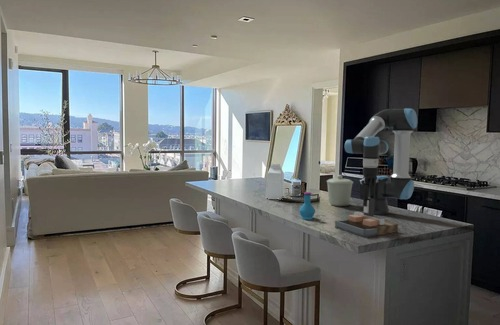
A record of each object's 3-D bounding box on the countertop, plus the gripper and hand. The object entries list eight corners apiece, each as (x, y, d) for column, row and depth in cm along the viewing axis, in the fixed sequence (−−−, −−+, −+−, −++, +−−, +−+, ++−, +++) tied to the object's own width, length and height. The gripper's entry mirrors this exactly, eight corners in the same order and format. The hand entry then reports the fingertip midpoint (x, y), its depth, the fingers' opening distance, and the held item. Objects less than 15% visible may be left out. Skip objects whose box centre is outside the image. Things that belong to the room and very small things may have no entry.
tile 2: (369, 223, 193) (370, 218, 193) (377, 225, 189) (377, 220, 188) (362, 224, 191) (362, 219, 190) (370, 226, 186) (370, 221, 186)
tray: (346, 226, 203) (346, 219, 203) (376, 235, 185) (377, 228, 185) (335, 227, 199) (335, 221, 199) (364, 237, 181) (365, 230, 181)
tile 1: (355, 219, 202) (355, 214, 202) (362, 221, 198) (362, 216, 197) (348, 220, 199) (348, 215, 199) (355, 222, 195) (355, 217, 195)
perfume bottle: (313, 216, 226) (314, 191, 224) (316, 219, 216) (317, 193, 215) (297, 216, 225) (298, 191, 224) (300, 219, 216) (301, 193, 215)
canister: (346, 208, 250) (347, 176, 248) (321, 205, 261) (322, 174, 259) (356, 204, 264) (357, 174, 263) (332, 201, 275) (333, 172, 274)
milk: (265, 199, 281) (265, 164, 279) (269, 196, 292) (269, 163, 290) (281, 200, 277) (281, 164, 275) (284, 197, 288) (285, 163, 286)
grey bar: (357, 217, 205) (358, 195, 204) (384, 224, 189) (385, 200, 188) (353, 217, 203) (354, 195, 202) (379, 225, 187) (380, 201, 186)
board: (368, 223, 210) (368, 216, 210) (397, 231, 193) (398, 224, 192) (347, 226, 203) (347, 218, 203) (376, 235, 185) (376, 227, 185)
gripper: (364, 168, 187) (362, 215, 188) (387, 167, 194) (385, 212, 196) (353, 166, 193) (351, 212, 195) (376, 165, 201) (374, 209, 203)
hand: (368, 212), depth 196 cm, fingers closed on grey bar, 3 cm apart
